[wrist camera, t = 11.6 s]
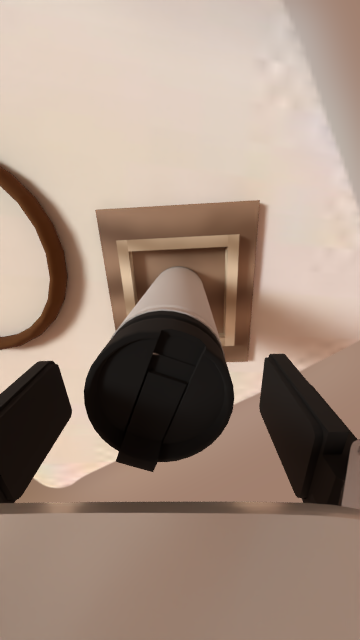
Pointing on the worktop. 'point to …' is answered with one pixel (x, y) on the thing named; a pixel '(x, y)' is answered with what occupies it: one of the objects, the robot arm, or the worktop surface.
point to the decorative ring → (52, 253)
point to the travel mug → (162, 376)
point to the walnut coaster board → (186, 259)
